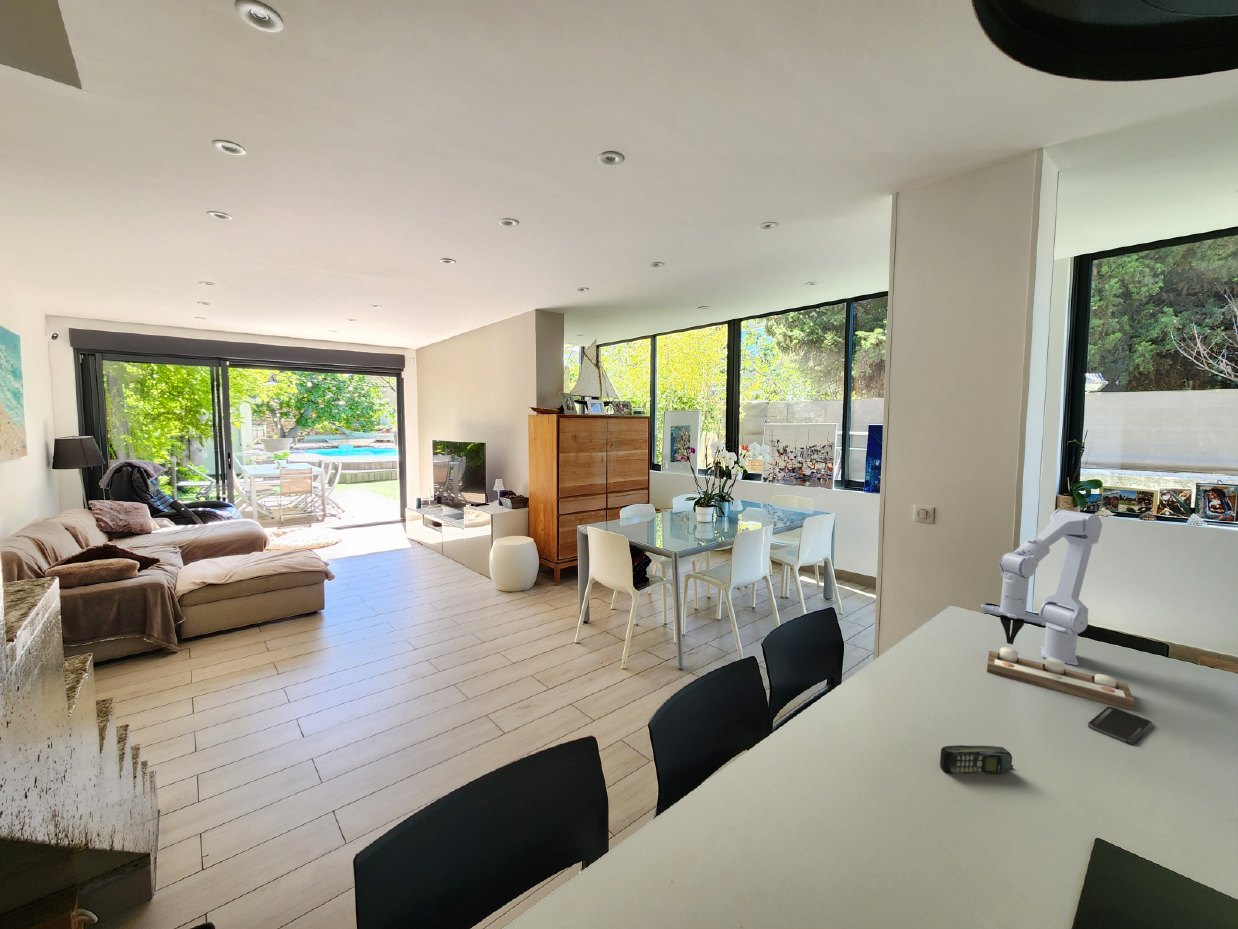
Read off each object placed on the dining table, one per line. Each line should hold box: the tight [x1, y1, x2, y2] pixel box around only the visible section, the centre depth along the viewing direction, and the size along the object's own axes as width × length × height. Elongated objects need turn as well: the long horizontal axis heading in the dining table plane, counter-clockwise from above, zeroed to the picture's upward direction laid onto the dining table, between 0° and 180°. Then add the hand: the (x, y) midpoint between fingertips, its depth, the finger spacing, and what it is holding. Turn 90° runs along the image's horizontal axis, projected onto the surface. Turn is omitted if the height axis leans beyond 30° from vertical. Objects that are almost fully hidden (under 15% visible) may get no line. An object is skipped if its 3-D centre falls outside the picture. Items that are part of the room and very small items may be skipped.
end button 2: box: [999, 646, 1019, 662], centre depth 143 cm, size 4×4×2 cm
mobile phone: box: [939, 744, 1014, 775], centre depth 101 cm, size 5×3×15 cm
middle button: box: [1044, 658, 1066, 674], centre depth 137 cm, size 4×4×2 cm
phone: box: [1087, 706, 1154, 746], centre depth 117 cm, size 8×1×15 cm
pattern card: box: [994, 659, 1125, 698], centre depth 134 cm, size 4×26×1 cm, turn 52°
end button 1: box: [1094, 673, 1117, 689], centre depth 131 cm, size 4×4×2 cm
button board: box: [986, 650, 1135, 711], centre depth 136 cm, size 10×29×2 cm, turn 52°
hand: (1009, 642), depth 143 cm, fingers closed
